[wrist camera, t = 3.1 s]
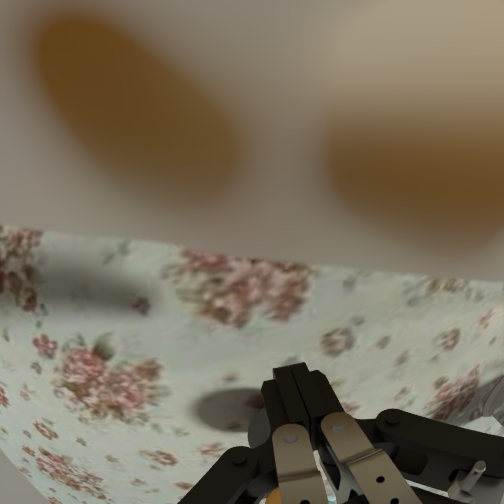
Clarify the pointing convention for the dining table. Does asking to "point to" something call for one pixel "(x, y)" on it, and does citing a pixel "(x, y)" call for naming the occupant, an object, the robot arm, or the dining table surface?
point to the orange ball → (274, 497)
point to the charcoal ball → (258, 430)
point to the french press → (496, 403)
